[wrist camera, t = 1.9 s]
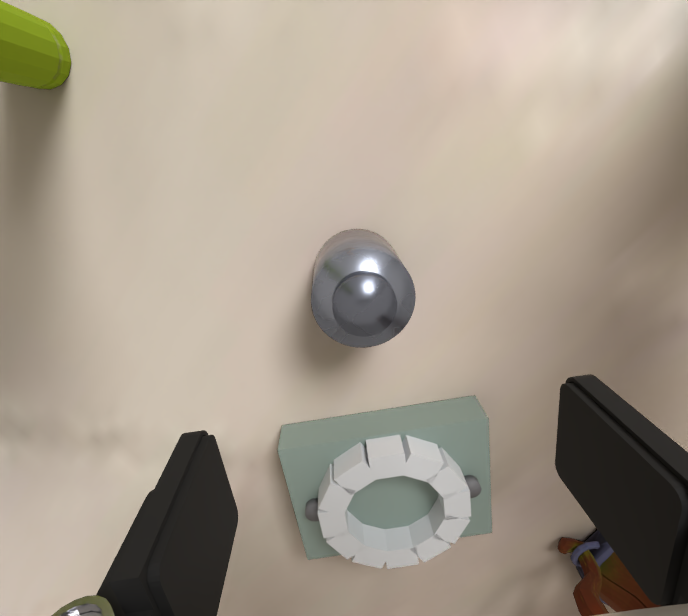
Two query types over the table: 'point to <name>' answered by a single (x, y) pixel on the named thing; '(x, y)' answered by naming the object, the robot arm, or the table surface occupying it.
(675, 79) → the table surface
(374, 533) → the block
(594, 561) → the mug
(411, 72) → the table surface
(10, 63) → the microphone
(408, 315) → the hub
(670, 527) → the robot arm
